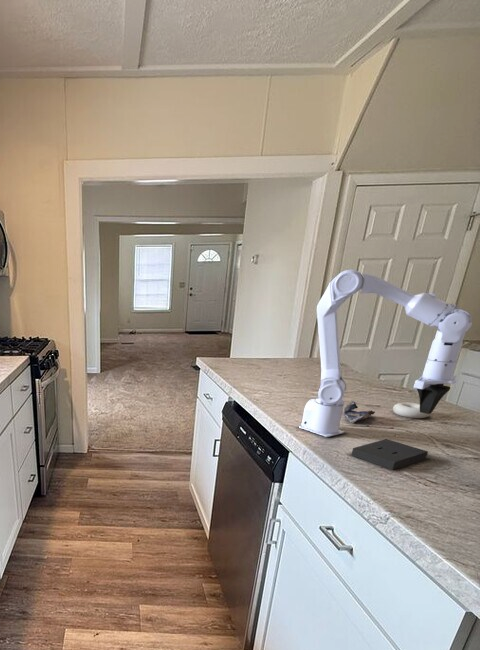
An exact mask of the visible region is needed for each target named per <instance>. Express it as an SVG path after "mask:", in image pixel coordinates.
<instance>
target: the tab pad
mask: <svg viewBox="0 0 480 650" xmlns="http://www.w3.org/2000/svg"><path fill="white" fill-rule="evenodd" d="M369 444H373V445H376V446H379V447H381V449H380V450H383V451H386V452H389V453H392V454H396V453H401V454H405V455H408V456H411V460H410V464H409V465H412V464H416V462H420V461H424V460H426V459H427V457H428V454H429V451H428V450H425V449H422V448H417V447H414V446H411V445H408V444H405V443H401V442H398V441H395V440H392V439H388V438H385V439H381V440H378V441H374V442H370V443H369Z"/></svg>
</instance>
